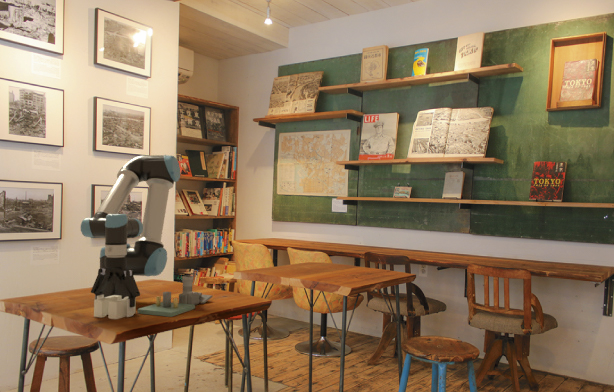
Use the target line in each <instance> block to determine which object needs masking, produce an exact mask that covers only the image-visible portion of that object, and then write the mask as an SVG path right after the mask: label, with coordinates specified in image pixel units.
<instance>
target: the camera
mask: <svg viewBox="0 0 614 392" xmlns="http://www.w3.org/2000/svg"><path fill="white" fill-rule="evenodd" d="M181 277H182V279H181V280H182V281H181V283H182V292H181V293H179V294H178V303H182V304H193V305H195V306H196V305H197V306H198V305H199V304H206V303H207V302H208V301H209V300H210V299H212V298H213V295H212V294H203V293H202V292H200V291H193V282H194V276H193V275H183V276H181Z"/></svg>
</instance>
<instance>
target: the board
mask: <svg viewBox="0 0 614 392" xmlns="http://www.w3.org/2000/svg"><path fill="white" fill-rule="evenodd" d="M195 309H196V305H193V304H182V303H179V297H174V298H173V301H172V291H164V292H162V301H161V296H159V295H158V296H155V303H153V304H150V305H146V306H143V307H139V308H137V314H141V315H142V314H143V315H153V316H160V317H168V318H169V317H170V318H172V317H175V316H178V315H180V314H183V313H186V312H189V311H192V310H195Z"/></svg>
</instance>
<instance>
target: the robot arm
mask: <svg viewBox="0 0 614 392" xmlns="http://www.w3.org/2000/svg"><path fill="white" fill-rule="evenodd" d="M180 178H181V169H180V163H179V161H178V159H177V158H176V156H174V155H167V154H163V155H157V154H155V155H154V154H153V155H152V154H151V155H148V154H147V155H145V154H143V155H138V156H135V157H133V158H131V159H130V160H128V161H127V162H126V163H125V164H124V165H123V166H122V167H121V168H120V170H119V171H118V172H117V175H116V180H115V181H114V183H113V185H112V186H111V188H110V189H109V191H108V193H107V194H106V196H105V197H104V199H103V201H101V204H100V205H99V207H98V209H96V211H95V213H94V214H93V216H92V217H87V218H84V219H83V220H82V221H81V224H80V232H81V234H82V235H83V236H84V237H85V238H93V239H94V238H95V239H96V238H102V239H103V238H104V246H103V247H102V248H101V249H100V253H99V268H98V272H97V276H96V278H95V281H94V283H93V285H92V287H91V290H90V293H91V294H94V300H96V299H100V298H104V297H108V296H112V295H119V296H122V299H124V297H129V298H127V316H126V318H130V317H133V316H134V314H133V309H134V307H135V298H136V299H137V298H138V297H140V296H141V293H140V289H139V287H138V285H137V283H136V279H135V277H137V276H138V277H140V276H141V277H155V276H156V277H157V276H160V274H162V272H164V270H165V268H166V265H167V262H168V251H167V249H166V248H164V246H165V245H164V244H163V242H162V237H163V236H162V235H163V230H164V223H165V217H166V211H167V204H168V199H169V192H170V190H171V189H172V188H173V187H174V184H175V183H177V182H179V181H180ZM142 182H146V185H147V187H148V189H147V190H148V191H147V196H146V201H145V202H146V203H145V207H144V214H143V219H142V221H141V220H140V219H138V218H134V217H133V218H132V217H130V218H128V216H127V215H128V214H125V213H119V212H120V211H121V210H122V207H124V204H125V202H126V200H127V199H128V197H129V195H130V194H131V193H132V190H133V189H134V188H136V187H137V186H138V185H139V183H142ZM137 237H139V238H138V239H137V240H135V242H134V247H133V246H132V247H131V244H130V243H128V239H135V238H137ZM134 276H135V277H134Z"/></svg>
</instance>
